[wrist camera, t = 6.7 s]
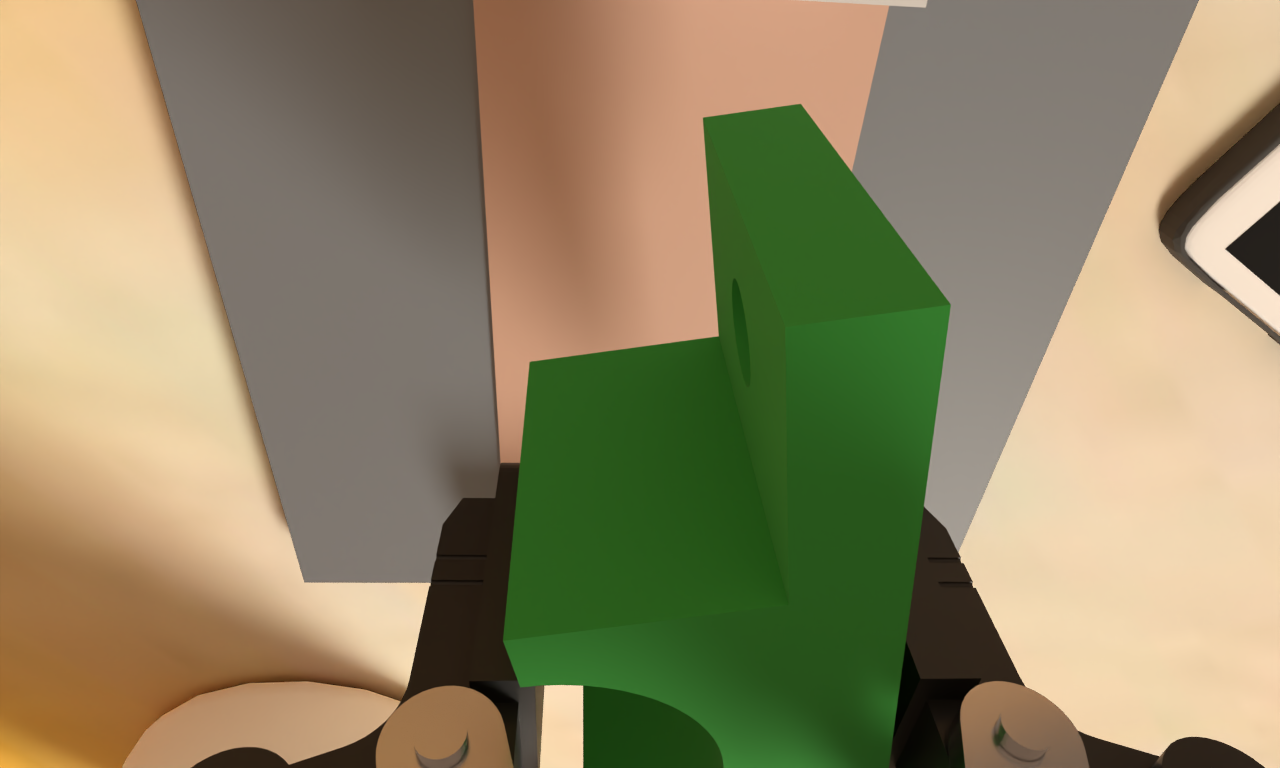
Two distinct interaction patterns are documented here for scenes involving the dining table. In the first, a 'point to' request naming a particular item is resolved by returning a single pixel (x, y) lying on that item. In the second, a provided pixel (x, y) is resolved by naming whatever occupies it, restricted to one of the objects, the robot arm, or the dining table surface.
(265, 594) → the dining table surface
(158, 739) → the can
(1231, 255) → the cell phone
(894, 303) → the pipe clamp
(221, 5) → the end holder
